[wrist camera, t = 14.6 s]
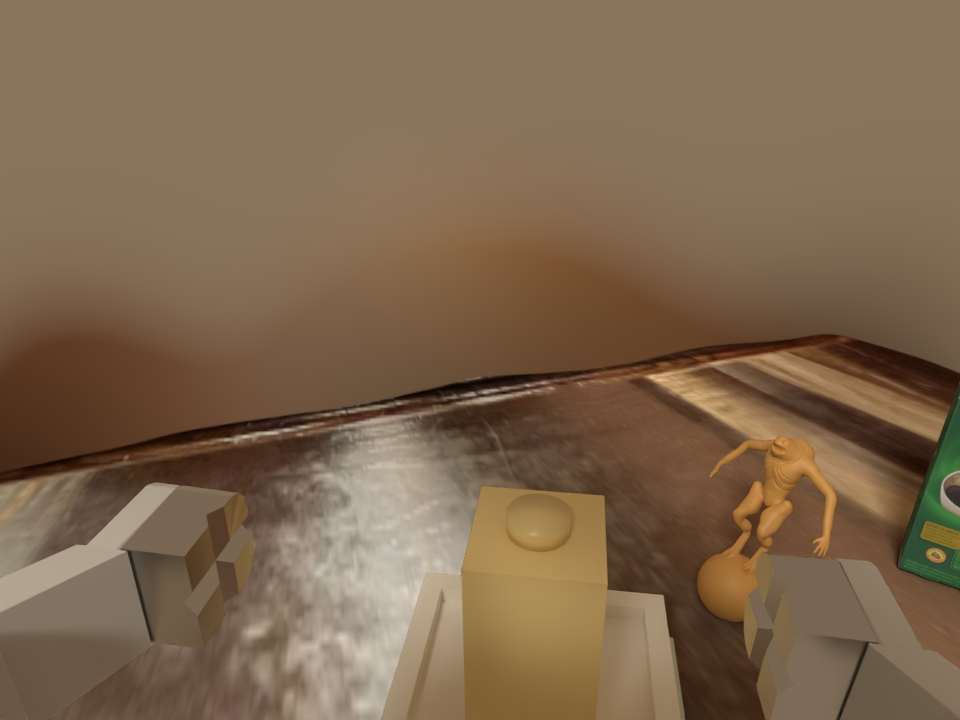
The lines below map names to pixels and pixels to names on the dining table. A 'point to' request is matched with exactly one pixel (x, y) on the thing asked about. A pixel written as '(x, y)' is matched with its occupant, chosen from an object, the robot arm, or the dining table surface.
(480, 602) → the tall brick
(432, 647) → the cream tray on base
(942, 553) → the coffee box
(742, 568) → the figurine
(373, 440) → the dining table surface
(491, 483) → the dining table surface
